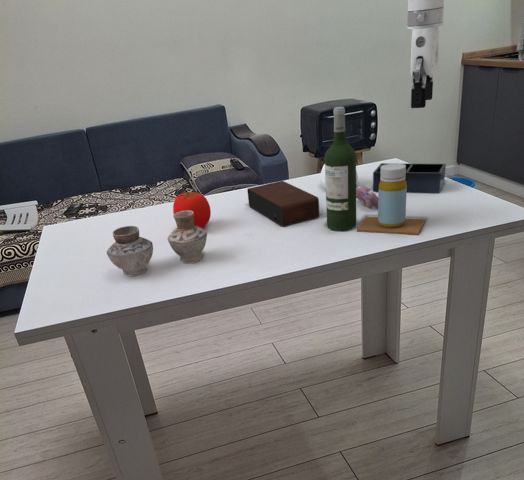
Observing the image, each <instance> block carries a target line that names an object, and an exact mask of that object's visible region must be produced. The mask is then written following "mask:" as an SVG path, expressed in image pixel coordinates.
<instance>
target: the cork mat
mask: <svg viewBox="0 0 524 480" xmlns="http://www.w3.org/2000/svg"><path fill="white" fill-rule="evenodd" d="M425 223H426V219H425V218H408V217H405V223H404V224H403V225H402V226H400V227H397V228H385V227H382V226H380V224H379V223H378V216H368V215H367V216H365V217H364V219H363V221H361V222H360V225H359V226H358V227H357V229H356V232H360V233H375V234H376V233H377V234H394V235H410V236H413V235H414V236H419V235H420V233H421V231H422V229H423V227H424V225H425Z"/></svg>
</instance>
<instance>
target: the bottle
mask: <svg viewBox="0 0 524 480" xmlns="http://www.w3.org/2000/svg"><path fill="white" fill-rule="evenodd" d="M389 163H390V164H385V165H382V166H381V173H380V175H381V177H380V179H381V180H380V183H379V192H377V193H378V195H377V197H378V208H377V211H378V212H377V217H378V223H379V224H380V226H382V227H385V228H397V227H400V226H402V225H403V224H404V223H405V218H406V210H407V193H406V192H407V183H406V180H405V174H406V165H404V164H401V163H399V162H389Z"/></svg>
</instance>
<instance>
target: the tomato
mask: <svg viewBox="0 0 524 480" xmlns="http://www.w3.org/2000/svg"><path fill="white" fill-rule="evenodd" d="M185 210H189V211H193V212H194V216H193V219H194V225H195V226H198V227H200V228H202V229H204V228H205V227H206V226H207V225H208V223H209V222H210V219H211V217H212V216H211V215H212V214H211V213H212V211H211V206H210V203H209V200H208V199H207V197H205V195H204V194H202V193H199V192H198V191H197V192H196V191H195V192H194V191H187V192H183V193H180V194H178V195H176V197H175V199H174V201H173V205H172V212H173V213H172V214H173V215H174V214H175V213H177V212H180V211H185Z"/></svg>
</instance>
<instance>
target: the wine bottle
mask: <svg viewBox="0 0 524 480" xmlns="http://www.w3.org/2000/svg"><path fill="white" fill-rule="evenodd" d="M332 113H333V142H332V144H331V145H330V146H329V148H328V149H327V150H326V151H325V153H324V164H325V183H326V189H325V208H326V209H325V210H326V227H327V229H328V230H329V231H333V232H346V231H351V230H353V229H355V228H356V226H357V198H356V188H357V182H356V171H357V153H356V151H355V149H354V148H353V147H352V146H351V144H349V143H348V141H347V134H346V133H347V132H346V108H345V107H344V106H335V107H333V112H332Z"/></svg>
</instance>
